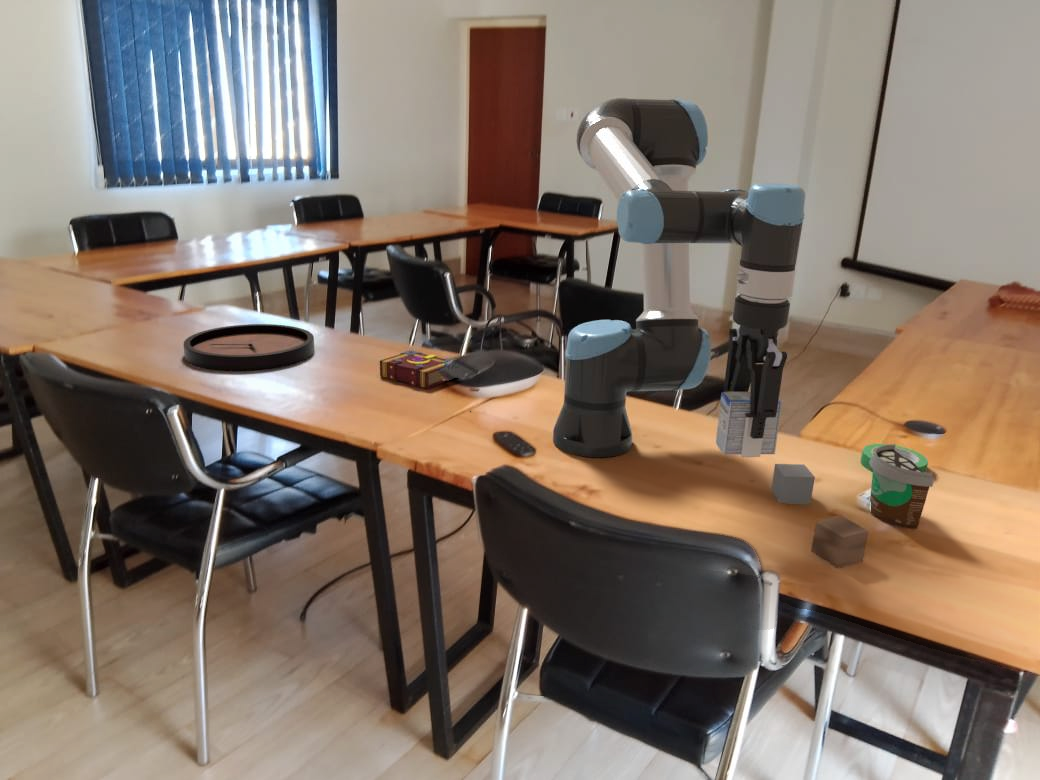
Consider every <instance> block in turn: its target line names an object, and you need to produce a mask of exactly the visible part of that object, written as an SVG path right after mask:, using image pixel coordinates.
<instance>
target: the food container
mask: <svg viewBox="0 0 1040 780" xmlns="http://www.w3.org/2000/svg"><path fill="white" fill-rule="evenodd" d="M895 445H896V446H897V444H893V443H891V444H890V445H883V446H880V447H878V448H877V449H876V451H875V452H874V453H873V455H872V457H871V459H870V462H869V464H870V466H871V468H872V469H873V472H872V475H871V487H870V488H871V489H870V497H869V503H870V502H871V513H870V514H871V515H872V516H873V517H874V518H876V519H877V520H879V521H881V522H883V523H885V524H889V525H891V526H895V527H897V528H902V529H903V528H904V529H910V530H911V529H913V530H914V529H915V530H917V529H918V527H919V524H920V521H921V517H922V514H923V512H924V511H923V510H924V507H925V503H926V500H927V496H928V493H929V490H930V488H933V486H934V485H933V484H934V477H933V476H934V473H933V472H927V471H926V472H922V471H921V470H920V469H919V468H918V467H917V466H916V465H915V464H914V463H913V462H912V461H911V460H909V459H907V458H905V457H903V456H902V455H900V454H899V453H898V452H896V451H895Z"/></svg>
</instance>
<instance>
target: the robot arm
mask: <svg viewBox="0 0 1040 780" xmlns="http://www.w3.org/2000/svg"><path fill="white" fill-rule="evenodd" d="M708 135H709V133H708V126H707V122H706V118H705V114H704V113H703V110H702V109H701V108H700V107H699V106H698V105H697V104H696V103H694V102H692V101H685V100H678V99H675V98H674V99H673V98H671V99H649V98H648V99H646V98H626V97H622V98H621V97H619V98H611V99H608V100H606V101H602V102H600V103H599V104H597V105H596V106H594V107H593V108H592V109H591V110H589V111H588V112H587V113H586V114H585V116H584V117H583V119H582V120H581V122H580V124H579V126H578V129H577V132H576V148H577V150H578V152H579V155H580V156H581V158H582V160H583V162H584V163H585V164H586V166H588V167H589V168H590V169H593V170H595V171H597V172H598V174H599V175H600V176H601V178H602V180H603V181H604V182H605V184H606V186H607V187H608V189H609V190H610V191H611V194H613V196H614V198H615V199H616V200H617V202H618V203H617V209H616V226H617V228H618V231H617V232H618V234H619V236H620V238H621V239H622V240H623V241H624V242H627V243H639V244H641V245H642V272H643V273H642V275H643V276H642V278H643V280H642V281H643V311H642V313H641V314H640V315H639V316H638V317H637V318H636V320H635V327H636V328H635V329H634V328H632V327H631V324H630V323H628V322H627V321H625V320H624V321H623V320H619V319H614V320H611V319H599V320H597V319H596V320H591V321H587V322H583V323H580V324H578V325H577V326H575V327H573V328H572V329H571V330H569V331H570V332H569V333H568V336H567V341H566V342H567V343H566V349H565V352H564V353H565V373H564V377H565V378H564V396H563V404H562V406H561V410H560V412H559V414H558V417H557V419H556V422H555V425H554V427H553V431H552V432H553V436H552V441H553V442H552V443H553V445H555V446H556V448H558V449H559V450H561V451H563V452H565V453H568V454H572V455H575V456H580V457H587V458H609V457H616V456H619V455H622V454H625V453H627V452H628V451H630V450H631V448H632V445H633V444H632V443H633V442H632V441H633V432H632V428H631V423H630V419H629V416H628V413H627V408H626V402H627V401H626V399H627V393H628V392H647V391H648V392H649V391H652V392H653V391H657V392H658V391H671V392H672V391H673V392H678V391H680V390H691V389H694V388H696V387H697V386H699V385H700V384H701V383H703V381H704V379H705V377H706V375H707V373H708V370H709V366H710V363H711V356H712V344H711V340H710V335H709V333H708V331H707V330H706V329H705V328H702V327H701V326H700V327H699V317H698V316H697V315H696V314H695V313H694V312H693V311H692V310H691V301H690V300H691V299H690V297H691V296H690V295H691V294H690V293H691V291H690V285H691V284H690V283H691V281H690V244H731V245H732V244H733V245H738V246H740V248H741V249H740V259H739V266H738V267H739V269H738V273H737V274H736V277H735V279H736V280H737V286H736V292H737V293H738V295H737V296H736V297H735V298H734V306H733V313H732V314H733V315H732V320H733V322H734V323H736V324H737V325H738V326H739V328H738V327H737V328H729V330H728V342H729V343H728V351H727V359H726V368H725V376H724V383H723V392H749V388H750V392H751V393H750V413H745V415H746V422H745V429H744V436H743V444H742V451H741V455H740V456H741V458H743V459H745V458H758V457H759V458H760V457H761V455H762V454H761V448H762V441H763V435H764V428H765V421H766V418H768V417H776V413H777V407H778V400H779V399H780V394H781V393H780V392H781V385H782V377H783V371H784V367H785V364H786V362H787V360H788V352H787V351H780V350H779V348H778V347H777V346H778V333H777V332H779V331H780V329H783V328H785V327H786V326H787V325H788V320H789V314H790V308H791V307H790V305H791V303H790V301H789V300H788V299H790V298H791V297H792V295H793V288H794V280H795V275H796V265H797V258H798V253H799V249H800V247H799V246H800V241H801V235H802V229H803V222H804V219H805V200H806V193H805V190H804V188H802V187H801V186H799V185H795V184H786V183H776V182H775V183H770V182H769V183H768V182H766V183H765V182H762V183H761V182H759V183H754V184H753V185H751V187H750V188H749V190H748V192H747V191H746V190H744V189H729V188H728V189H723V190H721V191H712V190H711V191H703V190H702V191H698V190H689V181H690V180H691V178H692V177H693V176H694V175H695V174H696V173H697V166H699V165H700V164H701V163H703V161H704V160H705V158H706V154H707V147H708V145H709V144H708V141H709V138H708V137H709V136H708Z"/></svg>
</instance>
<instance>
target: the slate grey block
mask: <svg viewBox="0 0 1040 780" xmlns="http://www.w3.org/2000/svg"><path fill="white" fill-rule="evenodd" d="M773 467H774V469H773V475H772V483H771V492H772V493H773V495H774V496H775V498H776V500H779V501H778V502H779V504H780V503H789V504H790V503H791V504H792V505H811V503H812V498H813V497H812V496H813V491H814V487H815V486H814V485H815V479H816V476H815V475H814V474H813V473H812V471H811V470H810V469H809V468H808V467H807V466H806V465H805V464H797V463H795V464H793V463H792V464H791V463H790V464H789V463H788V464H787V463H774V466H773ZM789 504H788V505H789ZM791 504H790V505H791Z"/></svg>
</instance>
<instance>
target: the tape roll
mask: <svg viewBox="0 0 1040 780" xmlns="http://www.w3.org/2000/svg"><path fill="white" fill-rule="evenodd" d="M883 445H890V444H889V443H888V444H887V443H872V444H868V445H865V446H864V447H863V449H862V452H861V457H860V464H861V466H862V467H864V468H865V469H866V470H868V471H870V472H872V473H873V469H872V468H871V466H870V464H869V462H870V459H871V457H872V455H873V453H874V452H875V451H876V449H877V448H878V447H880V446H883ZM895 451H896V452H898V453H899V454H900V455H902V456H903V457H905V458H907V459H909V460H911V461H912V462H913V463H914V464H915V465H916V466H917V467H918V468H919V469H920V470H921V471H922V472H926V473H927V469H928V465H929V460H928V458H927V457H926V456H925V455H924V454H921V453H920V452H918V451H916V450H913V449H910V448H907V447H904V446H900V445H897V444H896V445H895Z"/></svg>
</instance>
